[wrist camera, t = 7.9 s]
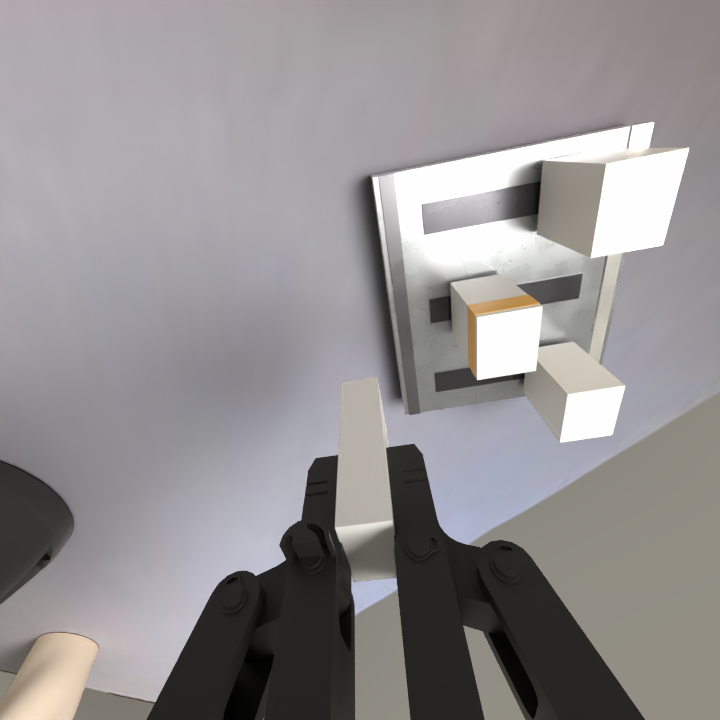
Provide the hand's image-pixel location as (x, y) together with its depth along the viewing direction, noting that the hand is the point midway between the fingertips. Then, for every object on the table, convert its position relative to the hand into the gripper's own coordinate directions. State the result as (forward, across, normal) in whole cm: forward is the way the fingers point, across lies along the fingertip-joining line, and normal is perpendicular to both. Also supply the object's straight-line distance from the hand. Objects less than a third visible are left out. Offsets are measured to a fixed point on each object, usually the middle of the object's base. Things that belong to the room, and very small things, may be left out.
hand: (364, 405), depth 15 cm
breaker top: (+8, +12, +6) cm, 15 cm away
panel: (+10, +9, 0) cm, 14 cm away
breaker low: (+8, +12, -6) cm, 15 cm away
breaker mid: (+8, +7, 0) cm, 11 cm away
